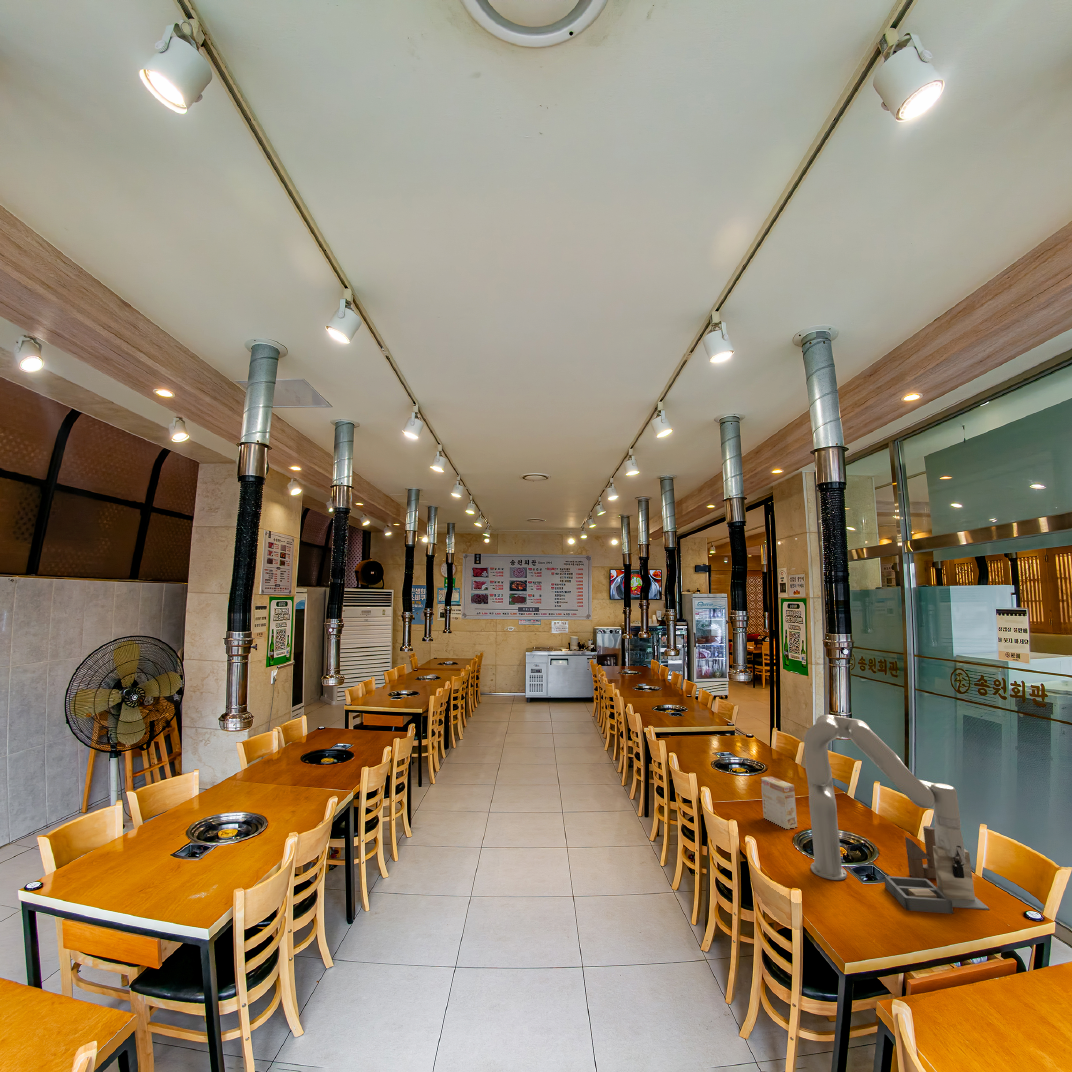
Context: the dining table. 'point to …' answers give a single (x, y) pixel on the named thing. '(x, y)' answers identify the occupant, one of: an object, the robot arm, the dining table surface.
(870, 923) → the dining table surface
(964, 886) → the plywood sheet
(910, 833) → the dining table surface
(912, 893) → the offcut upper
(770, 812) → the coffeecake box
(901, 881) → the tray
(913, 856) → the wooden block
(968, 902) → the mat
